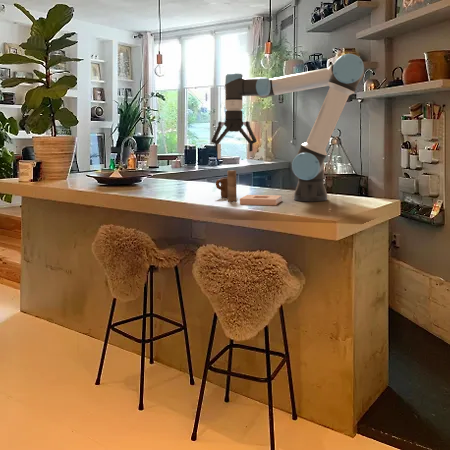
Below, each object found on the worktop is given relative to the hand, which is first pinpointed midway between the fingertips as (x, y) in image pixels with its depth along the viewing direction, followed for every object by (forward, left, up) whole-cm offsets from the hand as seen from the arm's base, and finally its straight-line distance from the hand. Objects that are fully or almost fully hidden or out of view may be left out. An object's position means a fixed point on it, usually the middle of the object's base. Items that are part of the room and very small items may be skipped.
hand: (233, 158), depth 236 cm
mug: (-14, -8, -20) cm, 26 cm away
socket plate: (+1, +13, -19) cm, 23 cm away
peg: (-1, -1, -19) cm, 19 cm away
